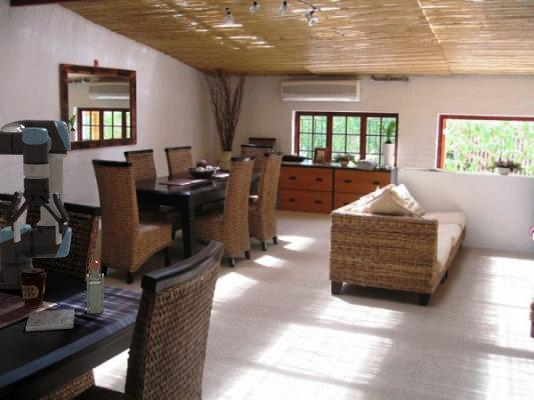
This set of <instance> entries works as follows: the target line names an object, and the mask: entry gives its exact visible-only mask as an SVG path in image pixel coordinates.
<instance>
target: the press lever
mask: <svg viewBox="0 0 534 400" xmlns="http://www.w3.org/2000/svg"><path fill="white" fill-rule="evenodd" d="M100 267H101V264H100V262H98V261H97V260H93V261H92V262H91V263H90V269H91V271H90V272H91V274H89V282H102V273H100Z"/></svg>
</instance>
